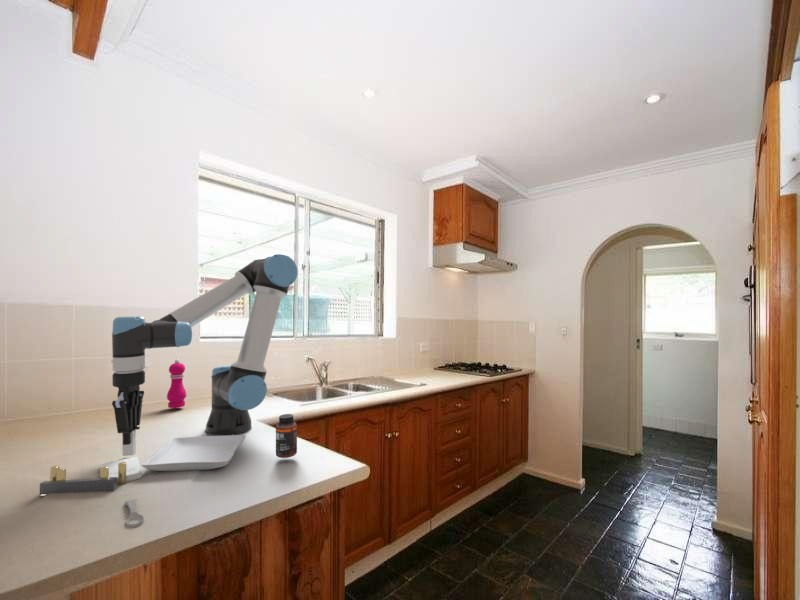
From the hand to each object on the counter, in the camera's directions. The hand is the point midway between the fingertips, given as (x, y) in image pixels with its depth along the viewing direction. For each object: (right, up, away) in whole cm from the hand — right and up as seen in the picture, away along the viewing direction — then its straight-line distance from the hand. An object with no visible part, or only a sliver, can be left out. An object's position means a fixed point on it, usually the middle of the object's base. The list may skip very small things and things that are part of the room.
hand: (129, 454), depth 109 cm
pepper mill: (-19, -2, +56) cm, 59 cm away
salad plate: (+20, -2, 0) cm, 20 cm away
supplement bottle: (+44, -2, +3) cm, 44 cm away
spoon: (+22, -1, -30) cm, 37 cm away
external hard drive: (+1, 0, -5) cm, 5 cm away
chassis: (+2, -1, -18) cm, 18 cm away
